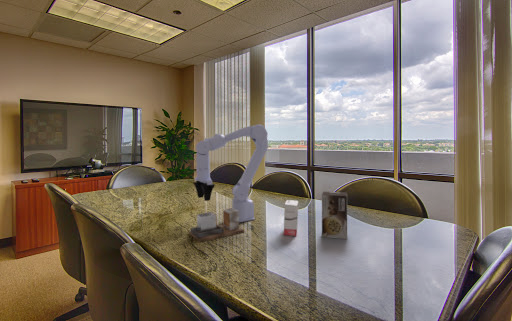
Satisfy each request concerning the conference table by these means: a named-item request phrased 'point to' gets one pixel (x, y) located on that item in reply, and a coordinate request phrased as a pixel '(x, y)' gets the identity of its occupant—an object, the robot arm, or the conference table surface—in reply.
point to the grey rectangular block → (206, 222)
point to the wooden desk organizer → (221, 227)
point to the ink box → (291, 217)
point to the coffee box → (334, 215)
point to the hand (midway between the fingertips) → (203, 198)
